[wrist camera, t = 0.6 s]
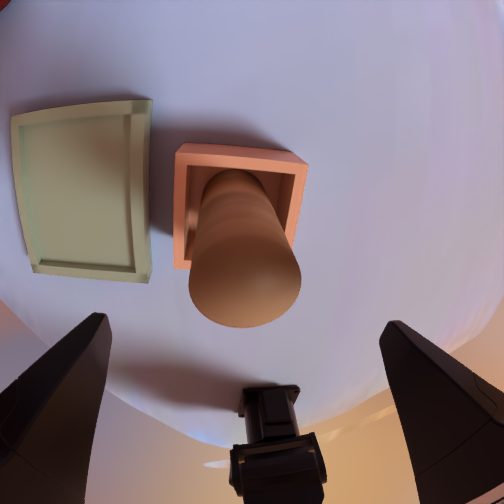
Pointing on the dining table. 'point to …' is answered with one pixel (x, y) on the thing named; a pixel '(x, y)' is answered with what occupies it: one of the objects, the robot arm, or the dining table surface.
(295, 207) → the holder
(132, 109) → the tray
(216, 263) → the dowel
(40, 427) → the robot arm
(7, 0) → the apple
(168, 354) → the dining table surface
